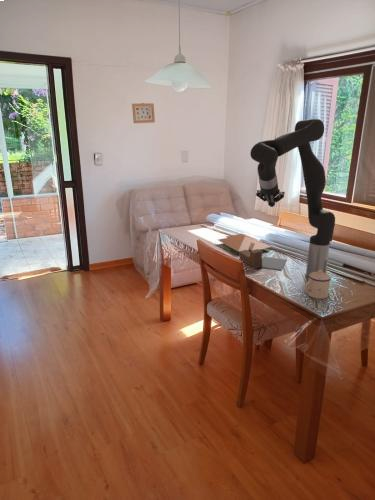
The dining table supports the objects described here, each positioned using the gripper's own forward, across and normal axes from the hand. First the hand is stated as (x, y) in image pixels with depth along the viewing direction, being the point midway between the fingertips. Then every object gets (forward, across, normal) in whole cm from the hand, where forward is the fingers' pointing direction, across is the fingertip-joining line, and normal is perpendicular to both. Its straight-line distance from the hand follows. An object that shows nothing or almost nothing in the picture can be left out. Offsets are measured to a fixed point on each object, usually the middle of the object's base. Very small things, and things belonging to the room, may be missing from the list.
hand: (271, 205), depth 170 cm
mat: (+40, +2, +10) cm, 42 cm away
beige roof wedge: (+57, +24, -5) cm, 62 cm away
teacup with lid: (+17, -24, +34) cm, 45 cm away
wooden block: (+29, +6, +15) cm, 33 cm away
